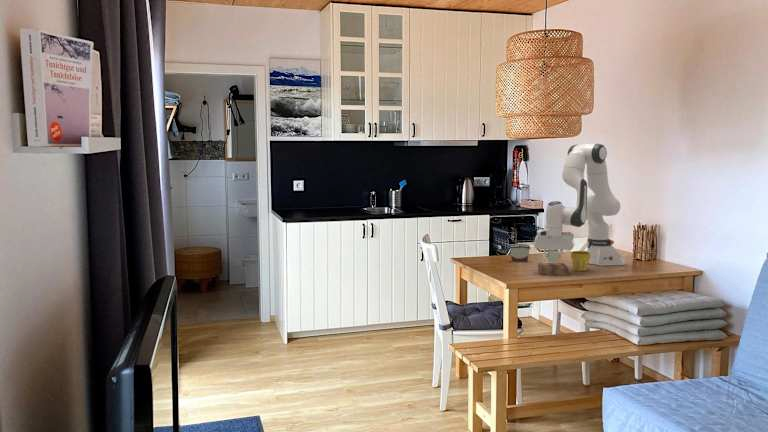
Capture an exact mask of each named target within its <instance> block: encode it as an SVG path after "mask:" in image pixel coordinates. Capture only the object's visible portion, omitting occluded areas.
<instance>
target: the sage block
mask: <svg viewBox="0 0 768 432" xmlns="http://www.w3.org/2000/svg"><path fill="white" fill-rule="evenodd" d="M559 253H560V250H559V249H547V254H549V257H547V262H548V263H559Z"/></svg>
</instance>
